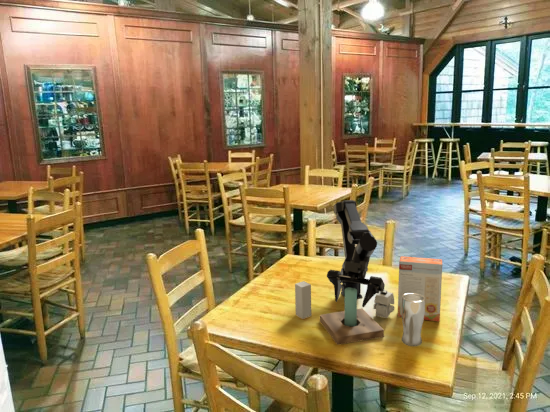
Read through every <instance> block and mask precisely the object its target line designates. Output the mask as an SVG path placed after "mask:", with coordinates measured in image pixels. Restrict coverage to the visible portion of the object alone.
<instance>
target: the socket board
mask: <svg viewBox="0 0 550 412" xmlns="http://www.w3.org/2000/svg"><path fill="white" fill-rule="evenodd" d="M344 319H345V310H343V311H342V310H341V311H334V312H330V313H323V314H319V322H320V324H321V325H322V326H323V328H324V330H326V332H327V333H328V334H329V336H330V337H331V338H332V340H333V341H334V343H335V344H336V345H338V346H339V345H344V344H350V343H355V342H356V343H357V342H361V341H362V342H363V341H368V340H373V339H379V338H384V337H385V329H384V328H383V327H382V326H380V324H379V323H378V322H377V321H376V320H374V318H373V317H372V316H371V315H370V314H368V312H367V311H366V310H365V309H364V308H363V307H362V308H357V326H353V327H349V326H345V325H344Z"/></svg>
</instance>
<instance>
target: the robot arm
mask: <svg viewBox="0 0 550 412" xmlns="http://www.w3.org/2000/svg"><path fill="white" fill-rule="evenodd" d="M333 213H334V214H335V218H336V220H337V221H338V223H339V224H340V227H341V228H340V229H341V234H342V242H343V243H342V244H343V251H344V261H343V262H342V265H341V269H340V270H336V269H329V270H328V271H327V274H326V277H327V279H328V281H329V282H330V283H331V284H332V285H333V288H334V289H333V290H334V300H335V301H334V302H336V303H337V302H338V300H339V298H340V295H342V296H343V297H344V298H345V289H346V288H350V287H351V288H355V289H357V299H360V298H363V295H362V294H361V289H362V288H361V285H366V291H365V294H364V298H363V301H362V305H361V307H362V308H365V307H366V305H367V304H368V303H369V302H370V300H371V299H372V298H373V297H374V296H376V294H377V293H379V291H381V292H383V291H384V290H385V286H386V285H385V282H384V280H383V279H382V277H381V276H380V277H378V276H373V275H370V277H369V278H366V276H367V273H368V271H369V268H368V267H369V263H370V259H371V256H372V255H373V253H374V252H375V250H376V248H377V246H378V241H377V240H376V237H375V236H374V235H373V234H372V232H371V230H370V229H369V227H368V226H367V224H365V223H364V222H362V220H361V217H360V214H359V212H358V206H357V202H356V200H354V199H349V200H348V199H347V200H343V201H337V202H336V203H334V204H333Z"/></svg>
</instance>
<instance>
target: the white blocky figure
mask: <svg viewBox="0 0 550 412" xmlns="http://www.w3.org/2000/svg"><path fill="white" fill-rule="evenodd" d="M374 296H375V297H374V304H373V309H374V310H375V315H376V317H381V318H384V319H387V318H389V316H390V315H391V313H392V312H394V311H395V306H394V305H395V296H394V293H393V292H390V291H388V290H385V289H384V291H383V292H381V291H379V293H376V294H375V295H374Z"/></svg>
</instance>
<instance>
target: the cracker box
mask: <svg viewBox="0 0 550 412" xmlns="http://www.w3.org/2000/svg"><path fill="white" fill-rule="evenodd" d="M398 262H399V263H398V288H397V289H398V291H397V295H398V296H397V317H399V318H402V315H401V305H402V296H403V295H404V294H406V293H417V294H420V295H422V296H424V298H425V315H424V320H423V321H432V322H440V321H441V300H442V282H443V281H442V280H443V259H441V258H440V259H439V258H428V257H413V256H405V255H404V256H400V258H399V261H398Z"/></svg>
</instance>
